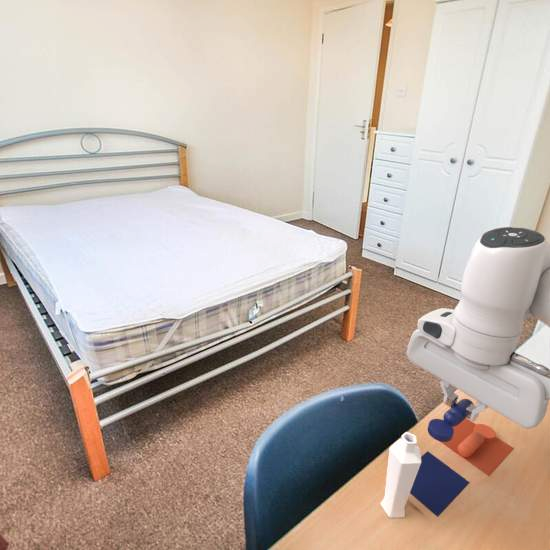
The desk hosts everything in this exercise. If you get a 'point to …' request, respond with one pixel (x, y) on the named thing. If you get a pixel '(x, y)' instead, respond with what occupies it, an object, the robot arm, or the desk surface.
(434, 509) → the navy mat
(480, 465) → the terracotta mat
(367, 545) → the desk surface
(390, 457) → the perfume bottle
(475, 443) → the orange stubby capsule part
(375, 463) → the desk surface
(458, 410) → the navy bulbous segmented part
